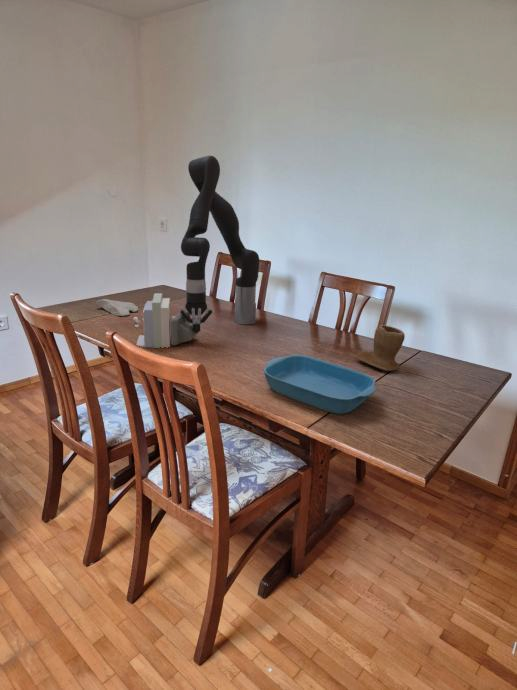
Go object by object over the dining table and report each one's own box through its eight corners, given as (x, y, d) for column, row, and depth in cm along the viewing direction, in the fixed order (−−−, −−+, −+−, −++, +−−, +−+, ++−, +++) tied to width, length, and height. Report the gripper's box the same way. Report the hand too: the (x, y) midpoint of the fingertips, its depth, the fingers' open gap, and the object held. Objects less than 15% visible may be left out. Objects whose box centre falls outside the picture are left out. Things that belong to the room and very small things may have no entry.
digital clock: (188, 333, 189) (179, 310, 186) (205, 330, 185) (196, 306, 182) (166, 348, 176) (156, 323, 173) (184, 344, 171) (174, 319, 168)
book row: (171, 335, 187) (169, 293, 180) (169, 347, 174) (168, 302, 167) (139, 335, 185) (137, 293, 178) (135, 348, 172) (133, 302, 165)
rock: (121, 304, 229) (93, 306, 218) (121, 295, 227) (94, 297, 216) (145, 316, 216) (117, 319, 205) (145, 307, 215) (118, 310, 204)
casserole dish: (249, 387, 144) (250, 367, 142) (289, 367, 161) (290, 349, 158) (352, 428, 123) (355, 405, 121) (385, 400, 140) (389, 379, 137)
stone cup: (406, 368, 164) (413, 329, 158) (386, 375, 157) (392, 335, 152) (373, 355, 175) (378, 318, 170) (353, 361, 168) (357, 323, 163)
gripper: (212, 287, 178) (212, 329, 184) (178, 287, 176) (180, 329, 182) (213, 292, 171) (213, 335, 177) (178, 292, 169) (179, 335, 175)
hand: (196, 332), depth 179 cm, fingers closed
